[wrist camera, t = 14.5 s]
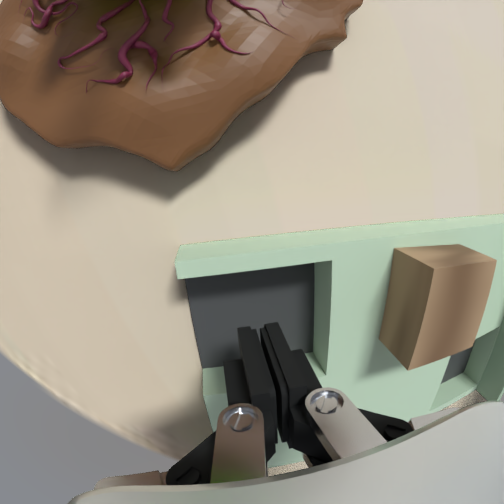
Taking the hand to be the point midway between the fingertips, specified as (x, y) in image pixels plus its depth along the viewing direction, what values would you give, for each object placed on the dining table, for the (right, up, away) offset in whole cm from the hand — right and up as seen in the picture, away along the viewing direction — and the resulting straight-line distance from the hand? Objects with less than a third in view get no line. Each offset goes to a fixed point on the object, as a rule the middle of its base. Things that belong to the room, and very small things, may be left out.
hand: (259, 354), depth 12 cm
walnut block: (+9, +2, +2) cm, 9 cm away
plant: (-5, +18, -2) cm, 19 cm away
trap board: (+9, -2, +6) cm, 11 cm away
